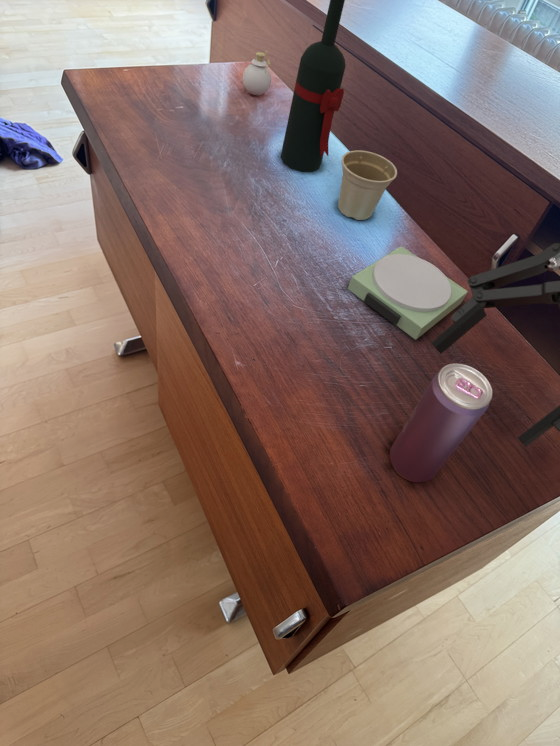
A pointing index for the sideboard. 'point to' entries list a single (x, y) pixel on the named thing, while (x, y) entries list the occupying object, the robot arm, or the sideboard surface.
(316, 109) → the wine bottle
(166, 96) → the sideboard surface
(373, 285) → the scale
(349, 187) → the flower pot
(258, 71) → the ornament
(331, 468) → the sideboard surface
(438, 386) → the beverage can
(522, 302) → the robot arm
